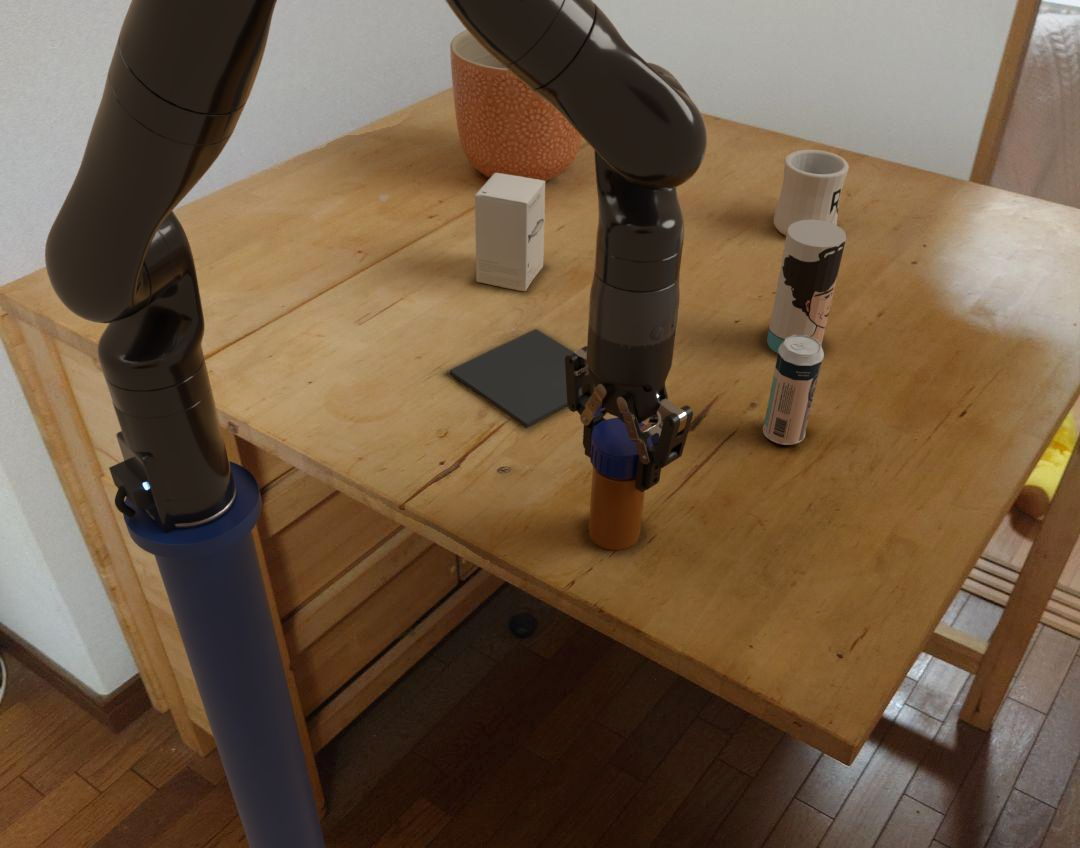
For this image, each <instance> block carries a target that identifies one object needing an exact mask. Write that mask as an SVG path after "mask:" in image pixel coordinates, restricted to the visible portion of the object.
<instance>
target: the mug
mask: <svg viewBox="0 0 1080 848" xmlns="http://www.w3.org/2000/svg"><path fill="white" fill-rule="evenodd" d="M783 165H784V167H783V179H782V186H781V190H780V195H779V197H778V202H777V204H776V208H775V212H774V214H773V215H774V216H773V226H774V227H775V229H776V230H777V231H778V232H779V233H780V234H782V235H784V236H785V237H786V236H787V230H788V228H789V226H790V225H791V224H793V223H795V222H797V221H801V220H821V221H826V222H830V223H832V224H835V225H837V224H838V215H839V206H840V200H841V197H842V196H841V195H842V190H843V187H844V184H845V181H846V178H847V175H848V173H849V169H850V168H849V163H848V162H847V160H846V159H844V158H843V157H842V156H840V155H838V154H836V153H834V152H830V151H826V150H820V149H802V150H796V151H793V152H790V153H789V154H788V155H787V156H785V158H784V164H783ZM837 226H838V225H837Z"/></svg>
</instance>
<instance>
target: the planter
mask: <svg viewBox="0 0 1080 848" xmlns="http://www.w3.org/2000/svg"><path fill="white" fill-rule="evenodd" d="M449 44H450V45H449V46H450V47H449V53H450V69H451V70H450V71H451V82H452V93H453V102H454V111H455V121H456V127H457V132H458V136H459V142H460V145H461V149H462V151H463V154H464V156H465V157H466V159H467V161H468V162H469V163H470V164H471V166H473V168H475V170H477V171H478V172H479V173H480V174H482V175H483V176H484V177H487V178H488V179H490V178H491V177H492V175H493V174H494V173H501V174H508V175H514V176H520V177H526V178H532V179H538V180H543V181H545V182H547V181H550V180H552V179H554V178H555V177H557V176H559V175H560V174H562V173H563V172H565V170H566V169H568V168H569V166H571V164H572V163H573V162H574V161H575V159H576V157H577V156H578V153H579V151H580V148H581V145H582V141H583V137H582V136H581V135H580V134H579V133H578V132H577V131H576V129H575V128H574V127H573V126H572V125H571V124H570V123H569V122H568V120H567V119H566V118H565V117H564V116H563V115H562V114H561V113H560V112H559V111H558V110H557V109H556V108H554V107H553V106H552V105H551V104H550V103H548V102H547V101H546V100H544V99H543V98H541V97H540V96H539V95H537V94H536V93H535V92H534V91H532V90H531V89H530V88H529V87H527V86H526V85H525V84H524V83H523V82H522V81H520V80H519V79H518V78H517V77H516V76H515V75H514V74H512V73H511V72H510V71H509V70H508V69H507V68H505V67H504V66H503V65H502V64H501V63H500V62H499V61H498V60H496V59H495V58H494V57H493V56H492V55H491V54H490V53H489V52H488V51H487V50H486V49H485V48H484V47H483V46H481V45H480V44H479V42H478V41H477V40H476V39H475V38H474V37H473V36H472V35H471V34H470V33H469V31H468V30H467V29H465V30H463V31H460V33H458V34H457V35H455V36H454V38H452V40H451V42H450V43H449Z"/></svg>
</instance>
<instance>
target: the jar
mask: <svg viewBox="0 0 1080 848" xmlns="http://www.w3.org/2000/svg"><path fill="white" fill-rule="evenodd" d="M635 482H636V477H634V478H629V479H617V478H612V477H608V476H606V475H603V474H601V473H600V472H598V471H597V470H596V469H595V468H594V467H593V466H592V474H591V488H590V490H591V491H590V503H589V518H588V519H589V520H588V536H589V538H590V540H591V541H592V542H593V543H594V544H595V545H597V546H598V547H599V548H603V549H605V550H609V551H610V550H611V551H622V550H626V549H629V548H631V547H632V546H634V545H635V544H636V543H637V542H638V541H639V539H640V535H641V528H642V527H641V526H642V517H643V508H644V499H645V491H646V490H645V491H644V492H640V491H639V490H637V489H636V488H635Z"/></svg>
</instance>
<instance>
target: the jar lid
mask: <svg viewBox="0 0 1080 848" xmlns="http://www.w3.org/2000/svg"><path fill="white" fill-rule="evenodd" d="M644 425H646V424H645V423H644V422H642V423H640V424H639V426H640V428H641V427H643V426H644ZM648 444H649V447H651V446H652V445H653V444H652V440H651V436H650V437H649V438H648ZM588 458H589V460H590V463H591V465H592V468H593V467H594V468H595V469H596V470H597V471H598V472H600V473H601V474H603V475H606V476H608V477H612V478H617V479H629V478H634V477H636V473H637V463H638V459H640V458H639V455H638V451H637V448H636V444H635V442H634V441H631V440H630V438H629V435H628V431H627V428H626V424H625V423H623V422H622V421H621V420H620V419H619V418H618V417H611V418H608V419H607V418H606V420H604V421H602V422H600V423H599V424H597V425H596V426H595V428H594V429H593V431H592V435H591V440H590V456H589V457H588Z"/></svg>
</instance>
